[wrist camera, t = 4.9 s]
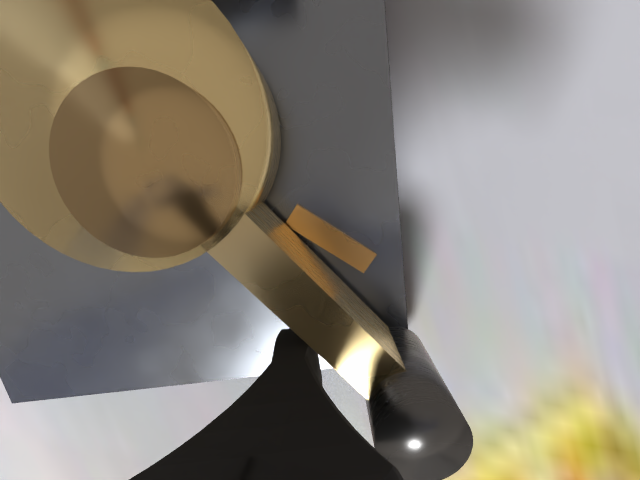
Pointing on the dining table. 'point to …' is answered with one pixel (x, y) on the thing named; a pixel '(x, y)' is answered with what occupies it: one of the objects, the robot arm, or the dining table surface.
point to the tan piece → (192, 188)
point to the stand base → (204, 271)
